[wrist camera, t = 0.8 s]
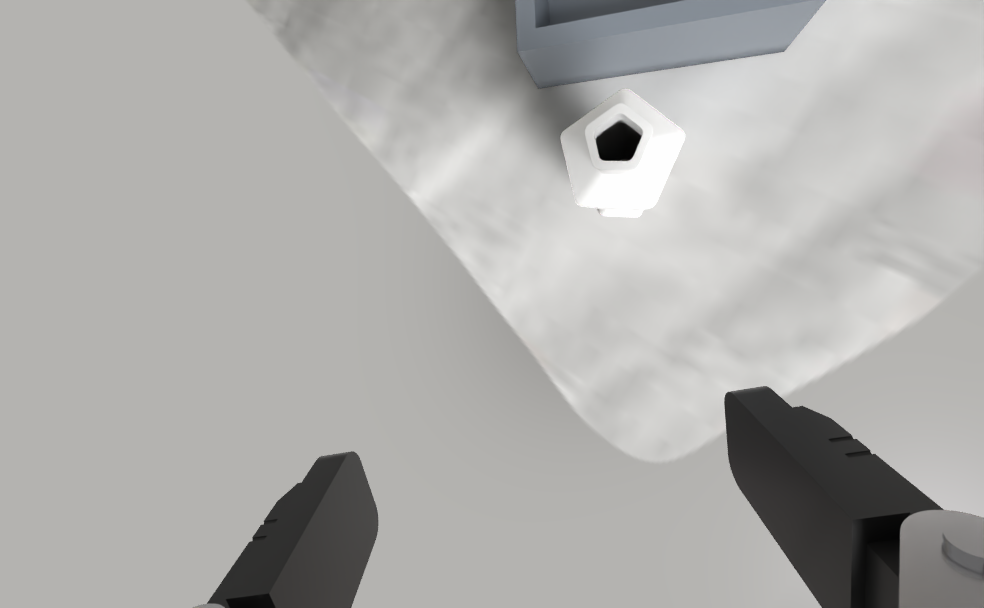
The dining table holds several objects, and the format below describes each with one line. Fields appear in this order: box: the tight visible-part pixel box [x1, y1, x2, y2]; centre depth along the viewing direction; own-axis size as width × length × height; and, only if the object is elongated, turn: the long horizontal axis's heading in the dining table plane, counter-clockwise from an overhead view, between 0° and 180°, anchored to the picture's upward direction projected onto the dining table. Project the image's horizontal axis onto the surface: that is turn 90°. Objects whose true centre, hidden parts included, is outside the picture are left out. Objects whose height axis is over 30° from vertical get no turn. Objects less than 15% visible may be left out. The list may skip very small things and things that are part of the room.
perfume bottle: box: [560, 88, 685, 217], centre depth 22 cm, size 5×4×15 cm
